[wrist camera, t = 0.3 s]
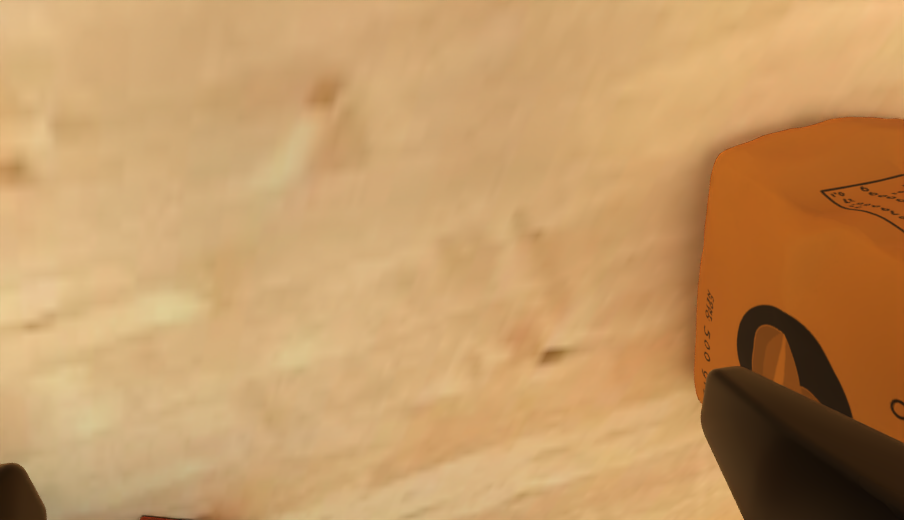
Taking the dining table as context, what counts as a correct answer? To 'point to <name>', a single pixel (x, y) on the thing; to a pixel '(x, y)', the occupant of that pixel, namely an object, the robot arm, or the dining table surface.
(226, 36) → the dining table surface
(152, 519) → the block
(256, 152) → the dining table surface
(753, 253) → the coffee package
